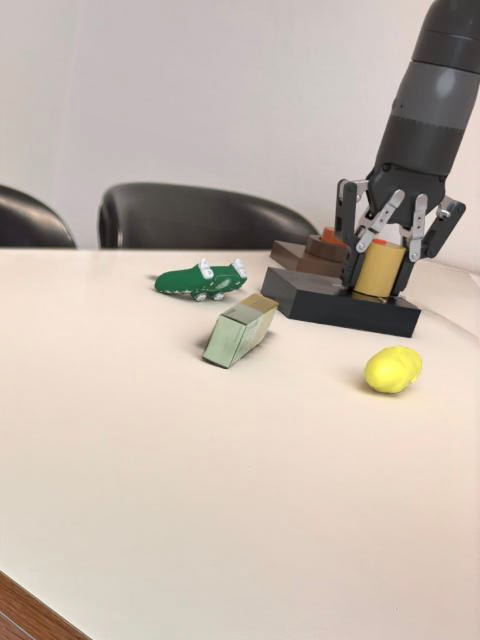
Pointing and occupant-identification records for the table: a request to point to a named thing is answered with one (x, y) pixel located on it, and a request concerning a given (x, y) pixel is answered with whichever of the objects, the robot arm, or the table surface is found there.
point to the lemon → (393, 369)
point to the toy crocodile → (203, 280)
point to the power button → (330, 236)
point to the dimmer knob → (379, 268)
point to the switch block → (310, 256)
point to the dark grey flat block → (337, 303)
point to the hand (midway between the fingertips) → (369, 290)
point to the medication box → (239, 330)
